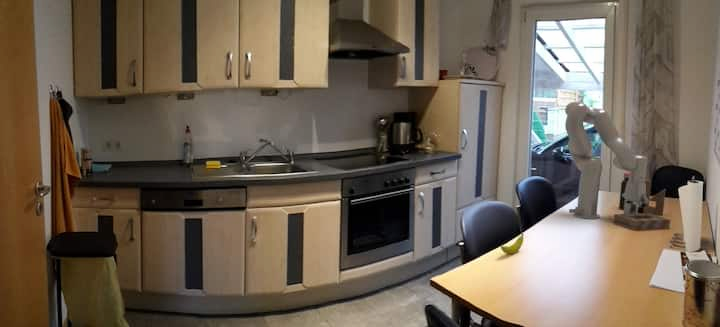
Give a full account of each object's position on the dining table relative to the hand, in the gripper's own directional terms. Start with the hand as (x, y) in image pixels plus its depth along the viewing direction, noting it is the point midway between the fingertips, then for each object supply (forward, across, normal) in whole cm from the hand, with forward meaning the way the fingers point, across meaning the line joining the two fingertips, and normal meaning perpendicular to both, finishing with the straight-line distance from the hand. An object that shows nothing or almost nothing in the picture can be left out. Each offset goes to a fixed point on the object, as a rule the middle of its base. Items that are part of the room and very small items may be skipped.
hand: (633, 212), depth 275 cm
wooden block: (+3, -8, +19) cm, 21 cm away
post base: (+3, +14, -8) cm, 16 cm away
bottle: (+3, -20, +13) cm, 24 cm away
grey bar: (+3, 0, 0) cm, 3 cm away
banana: (+3, +42, -96) cm, 105 cm away
